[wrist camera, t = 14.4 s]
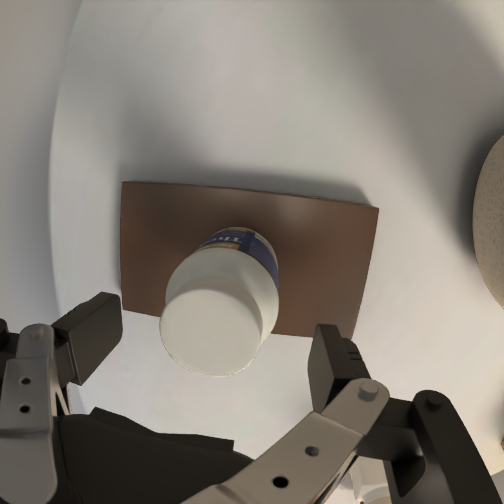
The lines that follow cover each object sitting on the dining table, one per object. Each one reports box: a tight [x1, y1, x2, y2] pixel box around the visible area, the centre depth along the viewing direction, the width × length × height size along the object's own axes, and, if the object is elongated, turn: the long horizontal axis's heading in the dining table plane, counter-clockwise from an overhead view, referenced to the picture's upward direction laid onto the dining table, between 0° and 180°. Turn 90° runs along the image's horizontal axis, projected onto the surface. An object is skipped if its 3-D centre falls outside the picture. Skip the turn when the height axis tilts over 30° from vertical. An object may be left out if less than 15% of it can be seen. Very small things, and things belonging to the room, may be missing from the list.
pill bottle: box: [160, 227, 279, 377], centre depth 16 cm, size 5×5×10 cm
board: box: [120, 181, 379, 340], centre depth 21 cm, size 18×10×2 cm, turn 84°
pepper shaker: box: [350, 456, 392, 504], centre depth 21 cm, size 4×4×10 cm
